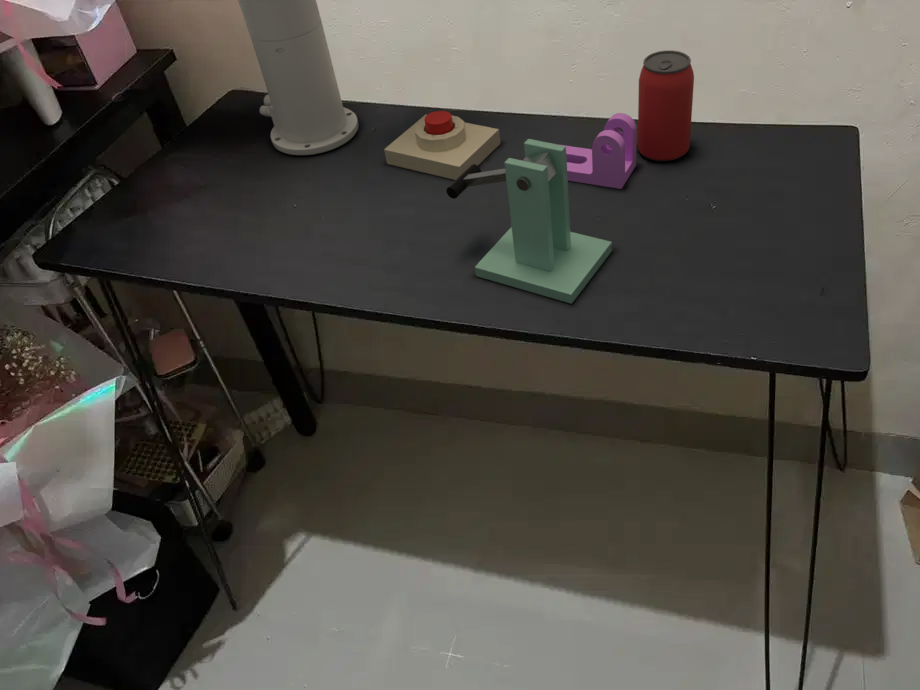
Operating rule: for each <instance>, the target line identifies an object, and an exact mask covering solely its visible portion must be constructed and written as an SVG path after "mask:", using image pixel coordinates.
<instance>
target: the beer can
mask: <svg viewBox="0 0 920 690" xmlns="http://www.w3.org/2000/svg"><path fill="white" fill-rule="evenodd" d="M691 62H692V59H691V57H690V56H689V55H688V54H686V53H685V52H683V51H679V50H659V51H656V52H652V53H650V54H649V55H647V56H646V57H645V58H644V59H643V62H642V63H643V65H642V68H641V69H640V70H641V71H640V74H639V78H638V99H637V100H638V102H637V103H638V104H637V105H638V107H637V116H638V117H637V149H638V151H639V153H640V154H641V155H642V156H643V157H645V158H647V159H649V160H650V161H654V162H655V161H656V162H670V161H675V160H677V159H680V158H682V157H683V156H685V155H686V154H687V152H688V151H689V150H690V145H691V131H692V129H691V128H692V117H693V102H694V101H693V99H694V86H695V85H694V84H695V75H694V73H695V72H694V70H693V67H692V64H691Z"/></svg>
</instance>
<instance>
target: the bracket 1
mask: <svg viewBox="0 0 920 690" xmlns="http://www.w3.org/2000/svg"><path fill="white" fill-rule="evenodd" d="M562 145H563V144H557V143H552V142H547V141H542V140H536V139H533V138H527V139H526V140H525V141H524V143H523V148H524V158H525V157H526V156H530V155H536V154H542V153H549V155H550V158H551V160H552V163H553V165H554V168H555V170H556V174H555V175H554V177H553V178H552V179H551V180H550V181H549V182H548V167H547V166H545V165H540V164H536V163H531V162H526V161H522V160H523V159H522V160H521V159H517V158H512V157H508V158H507V159H506V160H505V161H504V169H505V172H506V181H505V182H506V189H507V195H508V196H507V198H508V199H507V200H508V209H509V216H510V217H509V218H510V225H511V226H510V227H509V229H508V230H507V231H506V232H505V233H504V234H503V236H501V238H500V239H499V240H498V241H497V242H496V243H495V244H494V245H493V247H491V249H490V250H488V252H487V253H486V254H485V255H483V257H482V258H481V260H479V262H478V263H477V264H476V265H475V266H474V273H475V276H476V277H477V278H481V279H485V280H489V281H492V282H495V283H499V284H502V285H506V286H509V287H511V288H516V289H519V290H523V291H525V292H530V293H533V294H536V295H540V296H544V297H546V298H550V299H554V300H557V301H561V302H564V303H567V304H571V305H572V304H574V302H575V300H576V299H577V298H578V296H579V295H580V294H581V292H582V291H583V290H584V289H585V288H586V286H587V284H588V283H589V282H590V281H591V279H592V278H593V277H594V275H595V274H596V273H597V272H598V270H599V269H600V268H601V266H602V265H603V263H605V261H606V260H607V258H608V257H609V256H610V254H611V253H612V252H613V242H612V241H610V240H606V239H601V238H598V237H594V236H590V235H586V234H583V233H577V232H574V231H571V219H570V218H571V217H570V199H569V181H568V176H567V157H566V146H567V145H565V146H562Z"/></svg>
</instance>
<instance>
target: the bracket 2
mask: <svg viewBox="0 0 920 690" xmlns="http://www.w3.org/2000/svg"><path fill="white" fill-rule="evenodd" d="M618 128H619V129H621V130H622V131H620V130H619V129H618ZM637 135H638V126H637V124H636V121H635V120H634V119H633V117H631V116H630V115H629V114H627V113H623V112H618V113H614V114H612V115H611V116H610V118H609V119H608V120H607V122H606V123H605V125H604V127H603V130H602V131H600V132H599V133H598V134H597V136H596V137H595V138H594V140H593V141H592V144H591V148H585V147H578V146H573V145H572V146H571V145H564V144H561V145H562V146H566V157H567V176H568V182H574V183H575V182H576V183H581V184H587V185H593V186H599V187H606V188H611V189H612V188H613V189H619V190H622V189H623V187H624V186H625V184H626V183H627V181H628V179H629V178H630V176H631V174H632V173H633V171H634V170H635V168H636V166H637Z"/></svg>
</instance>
